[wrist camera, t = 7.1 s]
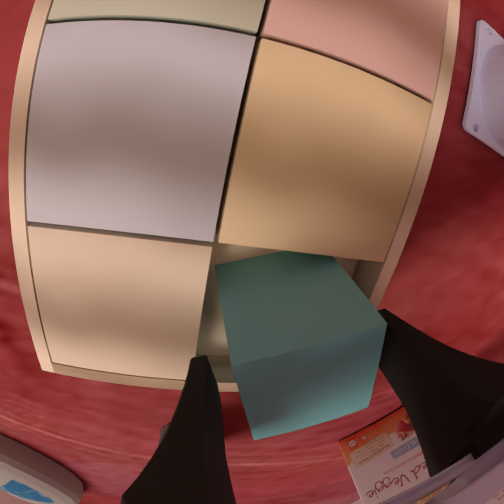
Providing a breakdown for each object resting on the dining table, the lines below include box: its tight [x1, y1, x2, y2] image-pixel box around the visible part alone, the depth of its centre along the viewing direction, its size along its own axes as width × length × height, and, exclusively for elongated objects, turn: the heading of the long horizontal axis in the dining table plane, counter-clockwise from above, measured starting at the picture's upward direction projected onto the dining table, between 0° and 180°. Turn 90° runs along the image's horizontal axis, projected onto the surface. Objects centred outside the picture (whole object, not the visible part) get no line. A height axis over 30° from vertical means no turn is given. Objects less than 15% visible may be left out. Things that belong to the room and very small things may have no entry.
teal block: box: [215, 251, 387, 440], centre depth 13 cm, size 5×5×6 cm
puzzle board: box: [9, 0, 460, 392], centre depth 11 cm, size 24×16×3 cm
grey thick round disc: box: [0, 434, 83, 504], centre depth 21 cm, size 18×18×5 cm
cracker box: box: [338, 406, 504, 504], centre depth 18 cm, size 14×6×21 cm, turn 119°
